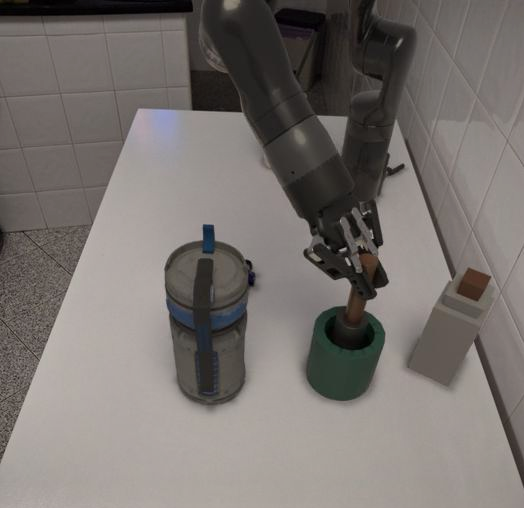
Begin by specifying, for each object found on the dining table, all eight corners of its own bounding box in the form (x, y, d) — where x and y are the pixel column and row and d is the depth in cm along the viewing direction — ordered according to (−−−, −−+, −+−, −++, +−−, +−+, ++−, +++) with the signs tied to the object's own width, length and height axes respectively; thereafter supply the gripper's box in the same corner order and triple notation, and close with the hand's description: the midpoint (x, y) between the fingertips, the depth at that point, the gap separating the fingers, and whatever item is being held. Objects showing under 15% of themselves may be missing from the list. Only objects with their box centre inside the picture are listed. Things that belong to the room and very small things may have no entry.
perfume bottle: (448, 386, 79) (494, 303, 65) (407, 367, 81) (443, 282, 67) (461, 358, 82) (508, 274, 69) (422, 340, 84) (459, 255, 71)
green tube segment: (343, 341, 84) (355, 297, 76) (383, 383, 78) (400, 341, 71) (293, 365, 80) (300, 321, 72) (331, 411, 75) (343, 369, 67)
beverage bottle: (172, 421, 72) (151, 293, 53) (181, 350, 81) (166, 217, 62) (243, 423, 72) (248, 296, 53) (246, 352, 81) (250, 220, 62)
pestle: (347, 330, 76) (370, 243, 64) (366, 350, 73) (394, 264, 61) (324, 341, 74) (343, 254, 62) (342, 361, 72) (366, 275, 60)
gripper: (294, 179, 52) (371, 318, 57) (362, 132, 60) (426, 258, 65) (252, 204, 58) (325, 327, 63) (319, 158, 66) (380, 271, 71)
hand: (376, 291), depth 64 cm, fingers closed on pestle, 2 cm apart
